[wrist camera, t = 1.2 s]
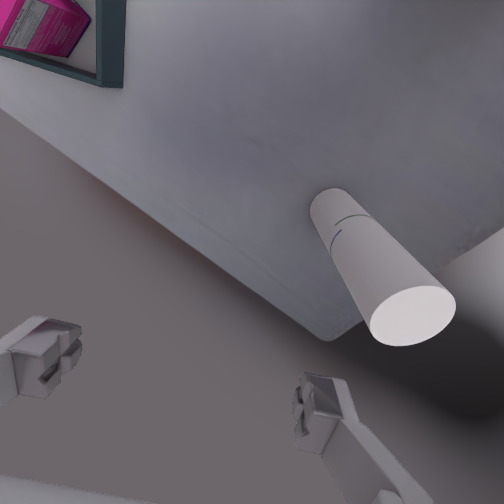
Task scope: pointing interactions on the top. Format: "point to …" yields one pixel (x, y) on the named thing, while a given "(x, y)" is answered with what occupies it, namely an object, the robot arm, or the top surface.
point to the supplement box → (42, 25)
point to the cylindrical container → (380, 273)
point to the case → (107, 49)
